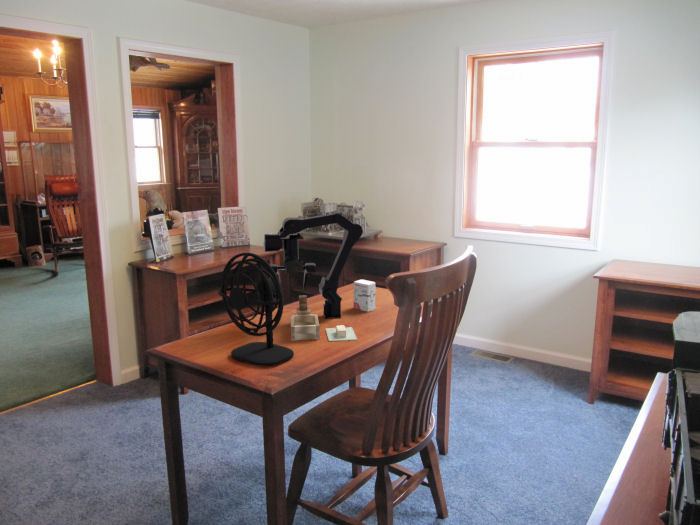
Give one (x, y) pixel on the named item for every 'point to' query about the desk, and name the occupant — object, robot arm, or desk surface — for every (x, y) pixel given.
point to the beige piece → (304, 325)
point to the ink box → (364, 295)
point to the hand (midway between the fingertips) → (292, 289)
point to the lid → (340, 333)
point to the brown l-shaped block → (303, 302)
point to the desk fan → (266, 292)
